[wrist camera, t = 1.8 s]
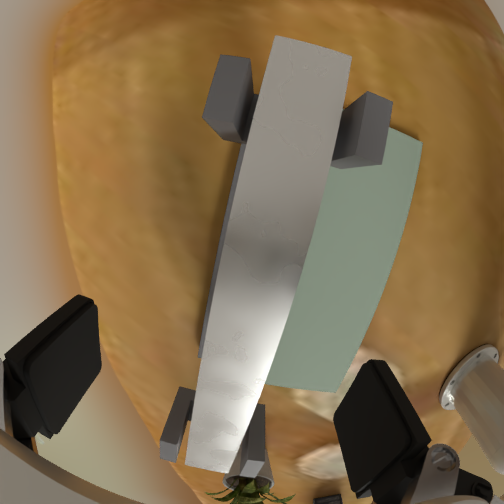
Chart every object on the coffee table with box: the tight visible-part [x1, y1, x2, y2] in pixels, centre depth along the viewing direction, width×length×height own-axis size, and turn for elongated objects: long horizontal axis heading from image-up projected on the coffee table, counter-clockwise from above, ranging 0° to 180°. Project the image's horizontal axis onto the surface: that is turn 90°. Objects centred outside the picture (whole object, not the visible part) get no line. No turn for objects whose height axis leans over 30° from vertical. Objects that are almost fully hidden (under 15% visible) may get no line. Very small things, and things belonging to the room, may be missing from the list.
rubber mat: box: [265, 109, 423, 393], centre depth 25 cm, size 9×29×1 cm, turn 167°
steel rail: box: [185, 35, 352, 473], centre depth 12 cm, size 3×24×3 cm, turn 167°
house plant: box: [205, 445, 296, 504], centre depth 25 cm, size 14×14×16 cm
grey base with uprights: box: [160, 55, 393, 478], centre depth 17 cm, size 6×24×16 cm, turn 167°
